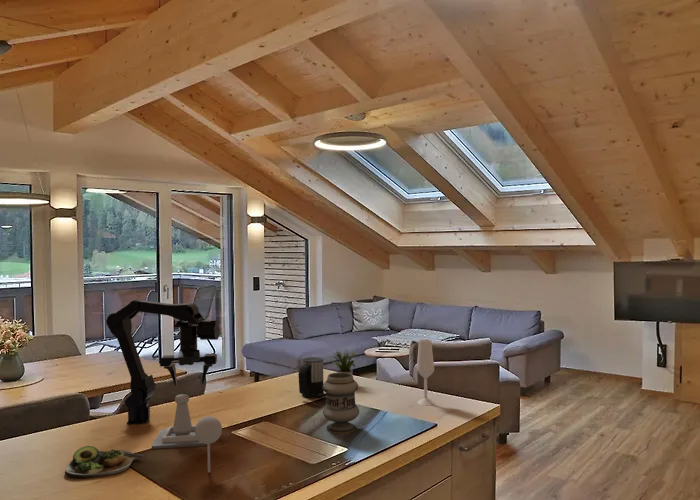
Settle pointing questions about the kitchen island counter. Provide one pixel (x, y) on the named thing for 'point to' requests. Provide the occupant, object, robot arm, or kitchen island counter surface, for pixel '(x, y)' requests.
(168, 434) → the socket board
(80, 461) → the salad plate
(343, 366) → the house plant
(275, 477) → the kitchen island counter surface
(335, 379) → the apothecary jar
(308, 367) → the milk frother
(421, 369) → the champagne flute
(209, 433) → the lollipop
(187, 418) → the salt shaker
